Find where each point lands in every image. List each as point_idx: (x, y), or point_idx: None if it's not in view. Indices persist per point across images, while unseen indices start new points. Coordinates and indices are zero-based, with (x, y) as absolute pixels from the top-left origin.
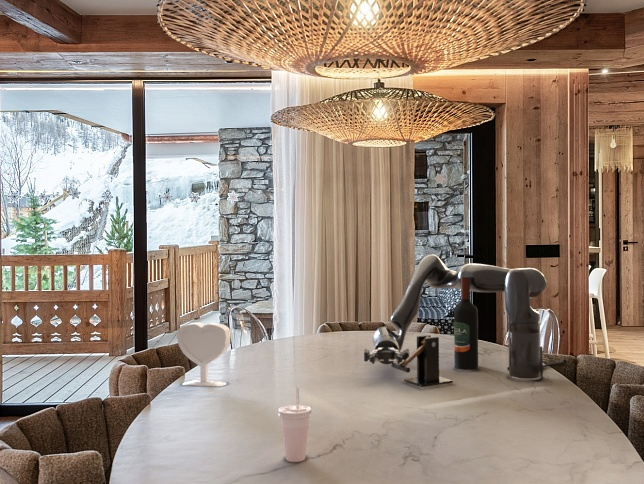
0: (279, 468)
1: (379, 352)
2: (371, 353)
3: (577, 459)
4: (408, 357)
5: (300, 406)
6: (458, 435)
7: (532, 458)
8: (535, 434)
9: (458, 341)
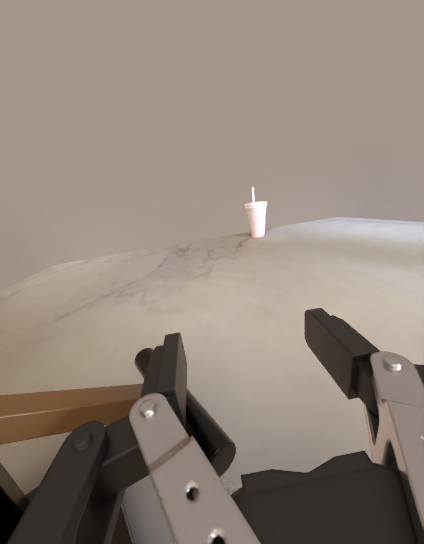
0: None
1: (394, 468)
2: (382, 352)
3: (73, 267)
4: (100, 401)
5: (253, 203)
6: (138, 271)
7: (103, 263)
8: (62, 285)
9: None
